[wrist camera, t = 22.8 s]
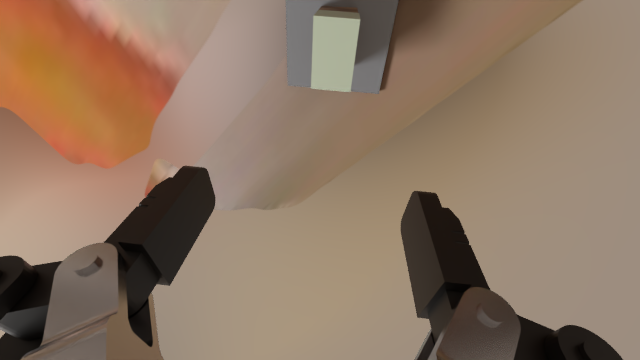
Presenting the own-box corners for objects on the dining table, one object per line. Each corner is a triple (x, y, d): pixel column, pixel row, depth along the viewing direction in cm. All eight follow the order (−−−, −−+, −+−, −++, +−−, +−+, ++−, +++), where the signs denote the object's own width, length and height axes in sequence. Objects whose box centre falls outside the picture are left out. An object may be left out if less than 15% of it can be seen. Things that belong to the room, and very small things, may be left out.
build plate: (289, 83, 39) (287, 85, 38) (286, -34, 30) (284, -35, 29) (378, 91, 39) (378, 93, 38) (402, -25, 30) (403, -25, 29)
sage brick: (315, 74, 32) (310, 88, 28) (318, 9, 28) (313, 15, 24) (350, 77, 32) (350, 92, 28) (359, 12, 28) (360, 19, 24)
